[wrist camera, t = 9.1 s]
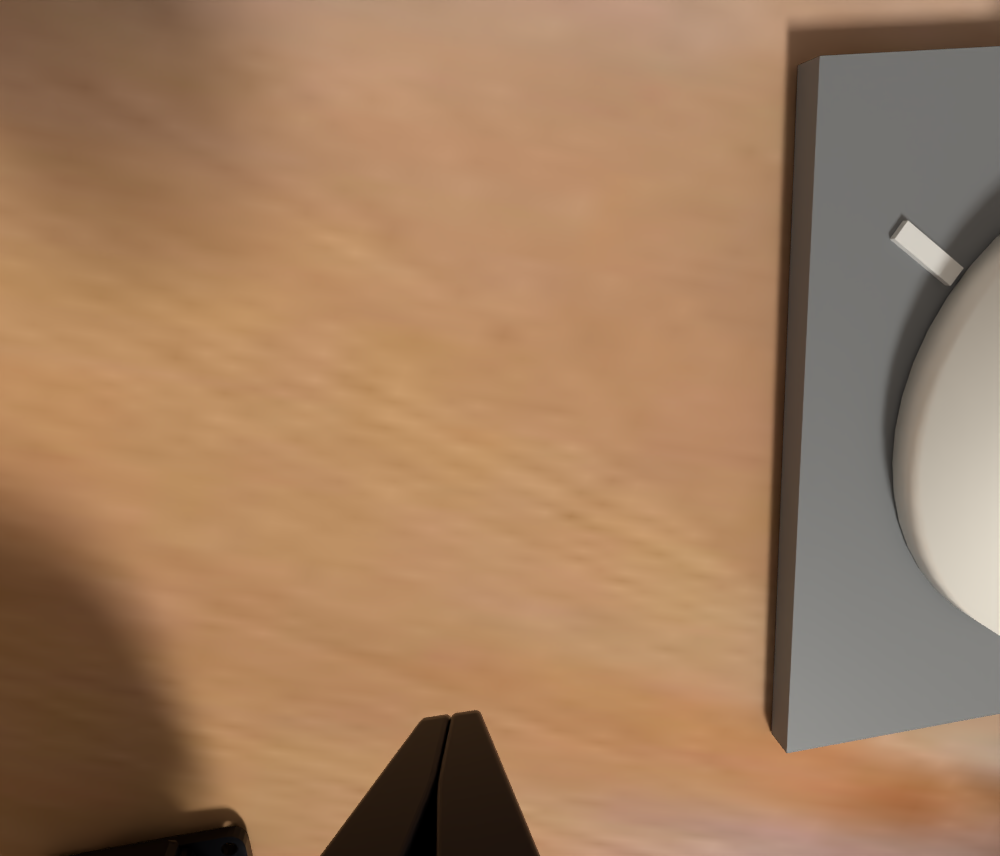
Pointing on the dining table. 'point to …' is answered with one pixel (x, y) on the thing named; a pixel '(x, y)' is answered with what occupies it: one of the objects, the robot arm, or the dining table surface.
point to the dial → (956, 446)
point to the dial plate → (874, 388)
